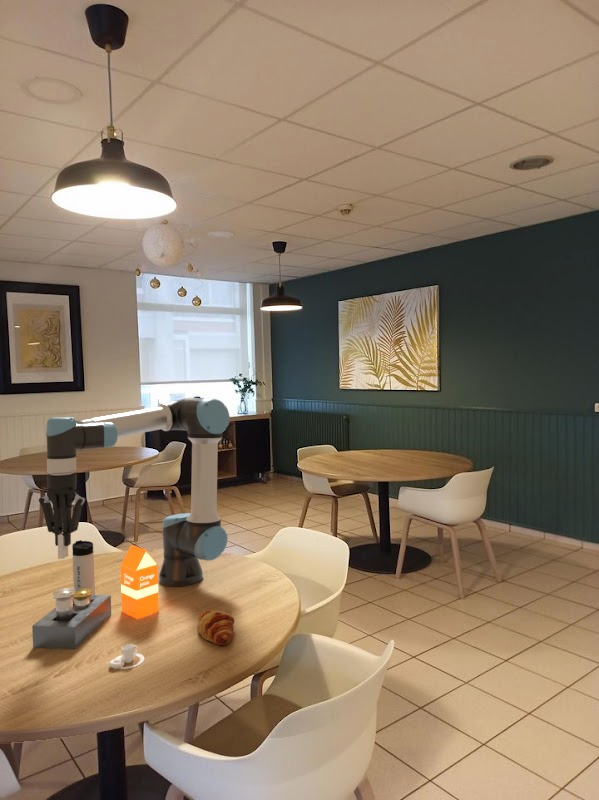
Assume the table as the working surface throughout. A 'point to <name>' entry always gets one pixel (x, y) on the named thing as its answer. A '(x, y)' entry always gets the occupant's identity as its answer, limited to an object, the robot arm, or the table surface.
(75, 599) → the knob
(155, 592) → the orange juice
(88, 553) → the travel mug
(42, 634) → the mount
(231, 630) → the croissant
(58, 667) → the table surface
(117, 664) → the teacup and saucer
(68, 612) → the knob
